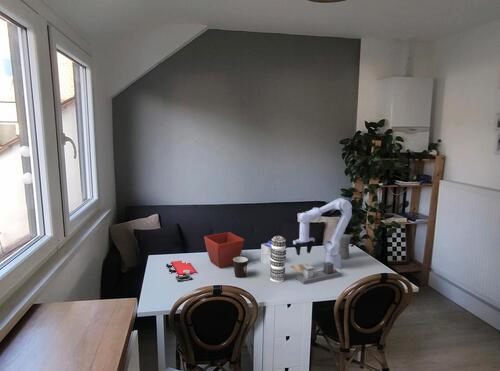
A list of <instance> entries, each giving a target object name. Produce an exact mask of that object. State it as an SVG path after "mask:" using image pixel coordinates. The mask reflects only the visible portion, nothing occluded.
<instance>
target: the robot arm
mask: <svg viewBox="0 0 500 371" xmlns="http://www.w3.org/2000/svg"><path fill="white" fill-rule="evenodd" d="M352 208H353V206H352V203H351V202H350V201H349V200H346V199H345V198H343V197H338V198H336V199H334V200H332V201H331V202H329V203H327V204H325V205H323V206H321V207H315V206H314V207H313V208H312V209H310V210H306V211H305V212H301V213H300V214H299V216H298V220H299V238H297V239H295V240H292V244H293V246H294V248H295V251H296V255H298V256H300V255H301V249H302V244H303V243H305V244H306V253H308V254H310V253H311V251H312V248H313V246H314V245H315V237H310V223H311V221H313V220H315V219H317V218H319V217H321V216H322V214H324V213H326V212H328V211H331V210H334V209H336V210H339V211H340V213H341V216H340V218H339V220H338V223H337V225H336V227H335V228H334V232H333V233H332V235H331V237H330V238H329V239H327V241H326V242H325V244H323V245H324V249H325V252H324V254H325V255H324V263H325V262H331V263H332V264H334V266H333V269H335V270H338V269H339V270H340V269H342V266H341V265H342V263H341V262H342V259H341V256H340V254H339V253H338V252H339V247H340V239H341V237H342V235H343V234H344V231H345V232H346V228H347V227H348V224H349V223H350V220H351V218H352V216H353V214H352V213H353V212H352ZM321 267H322V268H323V267H324V264H322V265H321Z"/></svg>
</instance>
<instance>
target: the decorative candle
mask: <svg viewBox="0 0 500 371" xmlns="http://www.w3.org/2000/svg"><path fill="white" fill-rule="evenodd" d="M271 241H272V245H271V247H270V251H271V253H270V254H271V255H270V256H271V266H270V269H269V270H270V273H269V274H270V276H269V277H270V278H269V279H270V281H271V282H274V283H283V282H284V281H285V278H286V265H285V262H286V258H287V257H286V255H287V250H286V249H287V246H286V238H285V237H284V236H282V235H275V236H273V238H271Z"/></svg>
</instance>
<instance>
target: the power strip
mask: <svg viewBox="0 0 500 371" xmlns="http://www.w3.org/2000/svg"><path fill="white" fill-rule="evenodd" d="M337 270H338V269H333V274H329V275H327V274H325V273H324V272H323V269H321V270H316V271H313V278H310V279H307V278H305V277H304V276H303V273H300V274H297V275H295V280H297V281H299V282H300V283H301V284H302V285H308V284H312V283H317V282H320V281H326V280H330V279H335V278H339V277H342V276H341V275H342V273H341V272H340V271H337Z"/></svg>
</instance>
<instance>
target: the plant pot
mask: <svg viewBox="0 0 500 371" xmlns="http://www.w3.org/2000/svg"><path fill="white" fill-rule="evenodd" d="M204 243H205V248H206V252H207V255H208V258H209V261H210V262H211V263H212V264H213V265H215V266H216V267H218V268H219V269H222V268H226V267H231V266H234V263H233V259H234V258H236V257H241V254H242V251H243V248H244V243H245V239H244V238H243V237H240V236H237V235H235V234H234V233H232V232H221V233H216V234H211V235H206V236H205V235H204Z"/></svg>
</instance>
